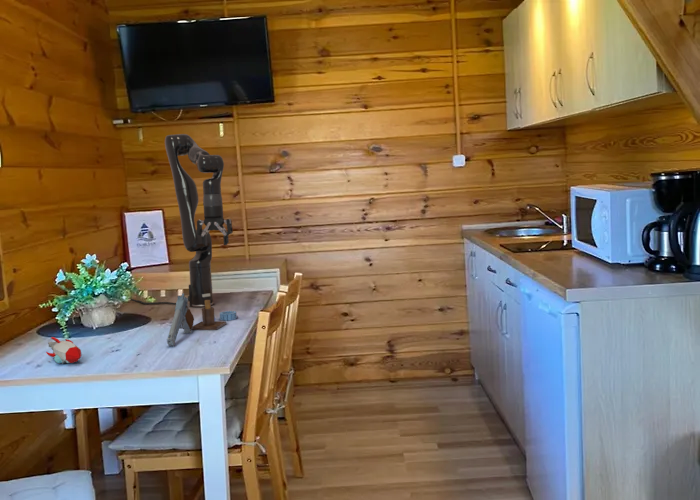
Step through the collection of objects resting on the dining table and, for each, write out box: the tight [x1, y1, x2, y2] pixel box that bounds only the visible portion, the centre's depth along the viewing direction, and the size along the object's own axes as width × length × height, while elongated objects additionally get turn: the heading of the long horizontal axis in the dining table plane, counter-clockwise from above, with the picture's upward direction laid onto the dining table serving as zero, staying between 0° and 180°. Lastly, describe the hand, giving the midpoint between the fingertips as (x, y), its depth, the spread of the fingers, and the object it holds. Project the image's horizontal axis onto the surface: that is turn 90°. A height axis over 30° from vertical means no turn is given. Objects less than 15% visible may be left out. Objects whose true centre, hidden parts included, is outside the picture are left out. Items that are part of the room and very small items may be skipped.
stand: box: [192, 300, 228, 331], centre depth 248 cm, size 10×10×10 cm
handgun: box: [166, 293, 195, 347], centre depth 231 cm, size 4×25×15 cm
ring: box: [219, 310, 238, 322], centre depth 262 cm, size 6×6×2 cm
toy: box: [45, 336, 82, 364], centre depth 207 cm, size 21×7×7 cm, turn 40°
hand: (215, 245), depth 270 cm, fingers open, 8 cm apart
